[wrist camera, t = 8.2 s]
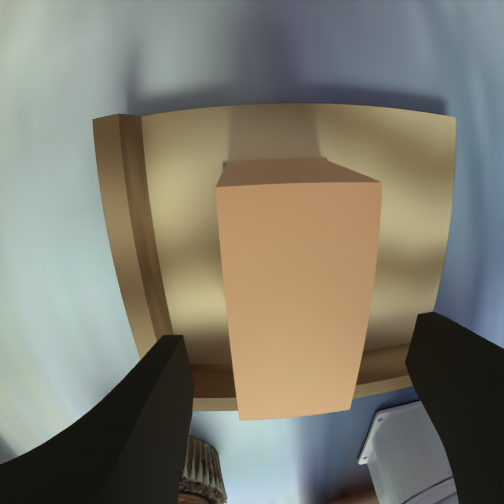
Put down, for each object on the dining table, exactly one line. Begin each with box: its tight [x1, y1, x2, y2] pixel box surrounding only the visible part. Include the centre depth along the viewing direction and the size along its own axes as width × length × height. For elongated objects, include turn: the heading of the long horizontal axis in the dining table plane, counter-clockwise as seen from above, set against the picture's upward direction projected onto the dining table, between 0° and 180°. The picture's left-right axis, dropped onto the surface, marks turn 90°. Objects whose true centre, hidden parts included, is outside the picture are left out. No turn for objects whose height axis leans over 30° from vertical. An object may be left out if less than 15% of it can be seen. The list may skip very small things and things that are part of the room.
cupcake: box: [178, 435, 227, 504], centre depth 20 cm, size 10×10×10 cm
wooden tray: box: [93, 103, 456, 411], centre depth 16 cm, size 16×18×4 cm
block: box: [215, 159, 382, 421], centre depth 13 cm, size 4×9×7 cm, turn 3°
